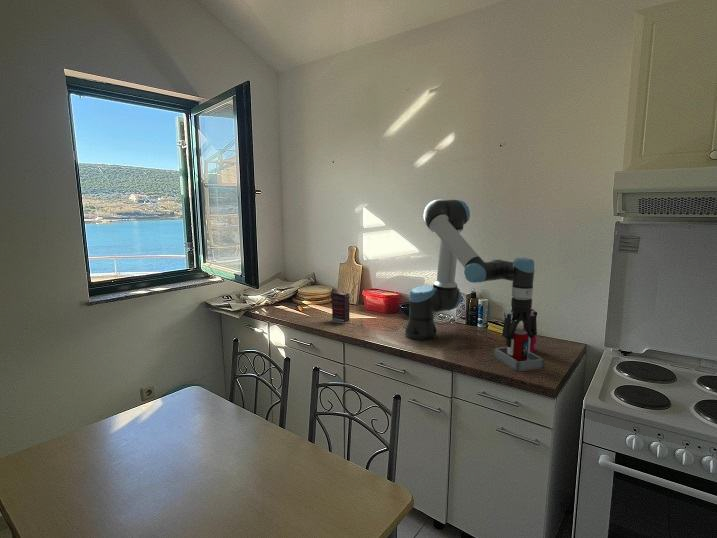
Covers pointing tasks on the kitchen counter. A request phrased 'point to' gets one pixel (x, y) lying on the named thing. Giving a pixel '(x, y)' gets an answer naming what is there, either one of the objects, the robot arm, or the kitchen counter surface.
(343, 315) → the supplement box
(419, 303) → the robot arm
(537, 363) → the tray
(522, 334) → the beverage can
